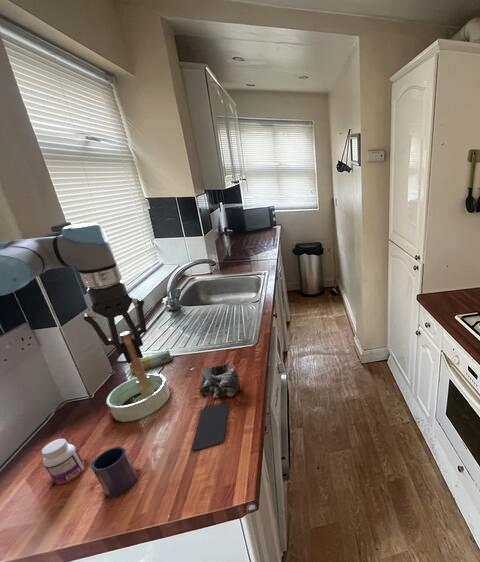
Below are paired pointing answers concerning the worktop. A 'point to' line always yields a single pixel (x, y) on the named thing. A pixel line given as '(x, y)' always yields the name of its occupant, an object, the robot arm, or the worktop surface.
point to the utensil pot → (114, 471)
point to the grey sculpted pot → (220, 381)
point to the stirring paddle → (137, 366)
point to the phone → (211, 427)
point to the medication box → (154, 360)
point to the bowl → (141, 407)
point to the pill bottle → (62, 461)
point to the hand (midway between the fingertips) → (134, 358)
